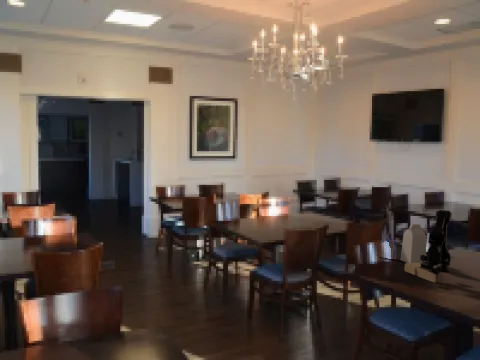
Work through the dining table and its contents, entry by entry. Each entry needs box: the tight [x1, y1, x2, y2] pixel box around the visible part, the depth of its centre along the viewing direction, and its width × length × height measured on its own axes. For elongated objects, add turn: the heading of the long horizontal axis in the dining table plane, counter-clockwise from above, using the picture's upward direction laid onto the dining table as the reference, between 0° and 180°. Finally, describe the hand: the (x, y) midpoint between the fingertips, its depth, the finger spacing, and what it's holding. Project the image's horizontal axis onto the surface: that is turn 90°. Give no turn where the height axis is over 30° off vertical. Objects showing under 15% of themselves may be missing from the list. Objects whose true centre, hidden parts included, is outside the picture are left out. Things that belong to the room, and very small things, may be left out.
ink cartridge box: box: [380, 237, 397, 260], centre depth 321 cm, size 10×6×14 cm, turn 55°
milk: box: [400, 223, 427, 264], centre depth 313 cm, size 12×12×26 cm
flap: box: [415, 268, 437, 283], centre depth 273 cm, size 14×1×5 cm, turn 22°
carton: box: [404, 262, 430, 276], centre depth 286 cm, size 10×10×5 cm
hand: (434, 278), depth 270 cm, fingers closed
